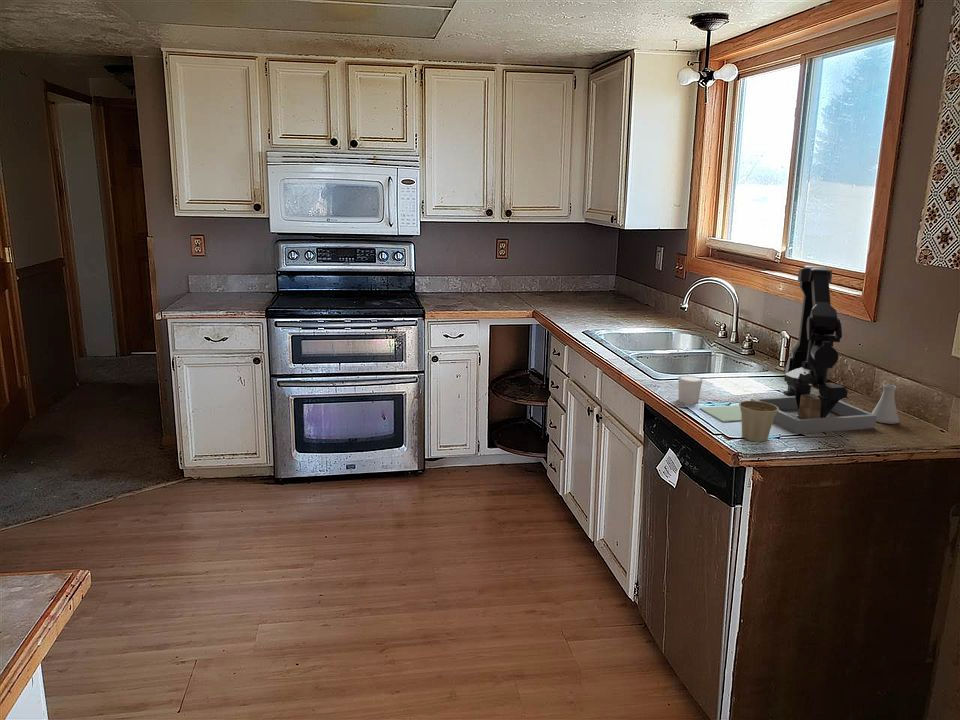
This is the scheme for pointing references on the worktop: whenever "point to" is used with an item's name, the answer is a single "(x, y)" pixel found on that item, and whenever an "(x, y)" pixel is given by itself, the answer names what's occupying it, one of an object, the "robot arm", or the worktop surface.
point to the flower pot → (757, 419)
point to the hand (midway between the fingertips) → (810, 414)
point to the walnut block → (809, 406)
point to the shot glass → (689, 389)
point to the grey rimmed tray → (848, 420)
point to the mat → (724, 413)
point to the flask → (887, 406)
